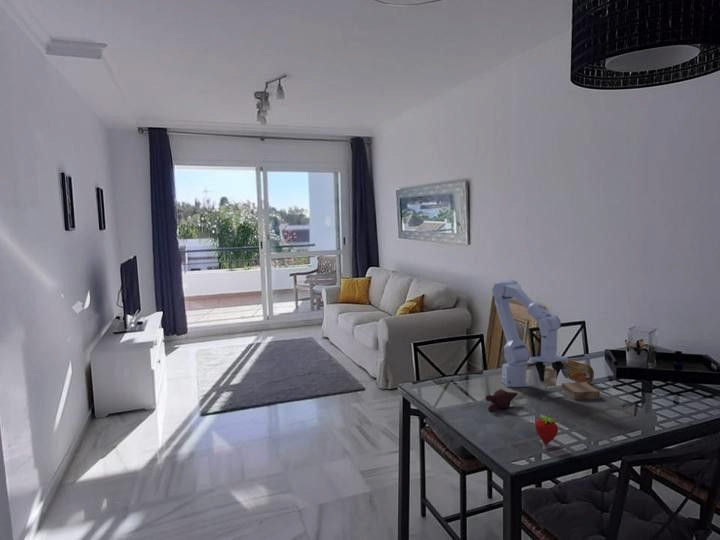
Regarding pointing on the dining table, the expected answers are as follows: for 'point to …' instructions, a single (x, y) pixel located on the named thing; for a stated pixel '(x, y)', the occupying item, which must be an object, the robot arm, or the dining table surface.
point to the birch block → (549, 377)
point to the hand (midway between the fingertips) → (547, 380)
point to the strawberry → (546, 429)
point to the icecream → (500, 399)
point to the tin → (578, 371)
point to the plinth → (580, 391)
